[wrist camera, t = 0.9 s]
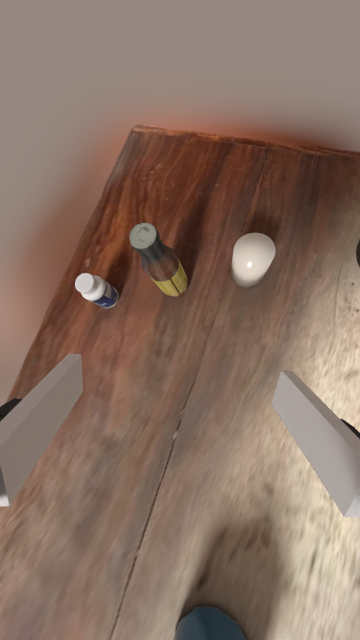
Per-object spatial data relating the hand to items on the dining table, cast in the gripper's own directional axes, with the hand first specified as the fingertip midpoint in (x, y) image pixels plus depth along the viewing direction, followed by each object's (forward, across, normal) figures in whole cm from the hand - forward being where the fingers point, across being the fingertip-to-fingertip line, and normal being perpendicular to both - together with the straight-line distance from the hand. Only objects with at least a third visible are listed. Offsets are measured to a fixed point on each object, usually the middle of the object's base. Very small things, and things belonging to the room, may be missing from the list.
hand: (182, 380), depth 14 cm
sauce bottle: (+36, 0, 0) cm, 36 cm away
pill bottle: (+38, -15, -4) cm, 41 cm away
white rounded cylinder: (+34, +15, +5) cm, 37 cm away
